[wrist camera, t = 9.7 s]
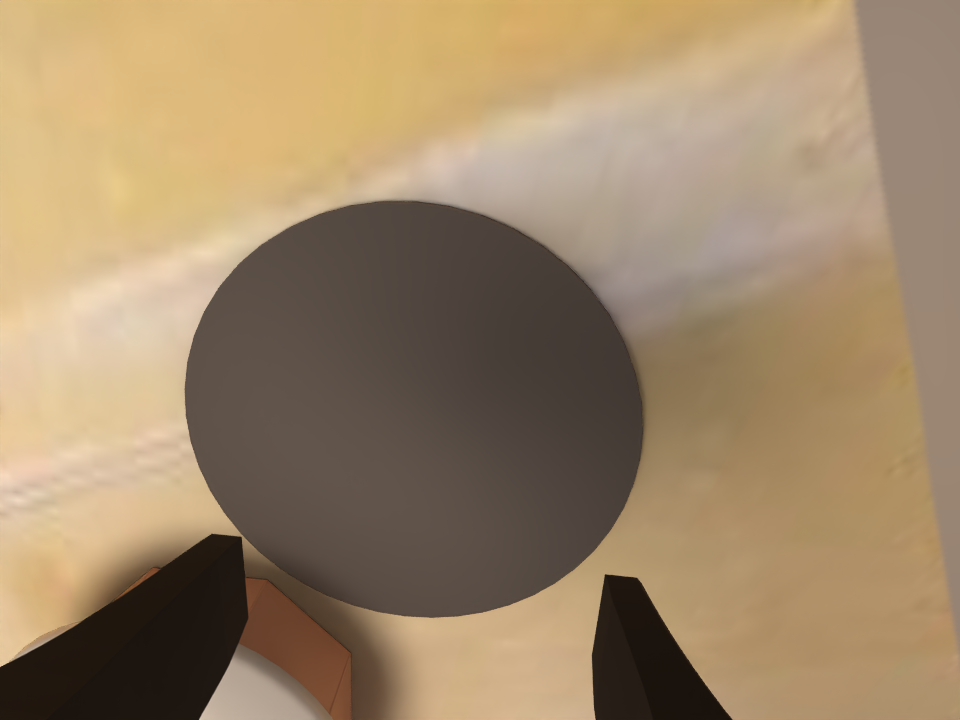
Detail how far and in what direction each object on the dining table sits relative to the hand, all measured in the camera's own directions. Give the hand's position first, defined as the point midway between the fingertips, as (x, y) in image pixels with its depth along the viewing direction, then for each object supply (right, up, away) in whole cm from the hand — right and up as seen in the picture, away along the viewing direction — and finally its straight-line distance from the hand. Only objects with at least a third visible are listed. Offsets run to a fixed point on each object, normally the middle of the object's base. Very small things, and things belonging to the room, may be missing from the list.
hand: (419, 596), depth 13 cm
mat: (-1, +2, +11) cm, 11 cm away
